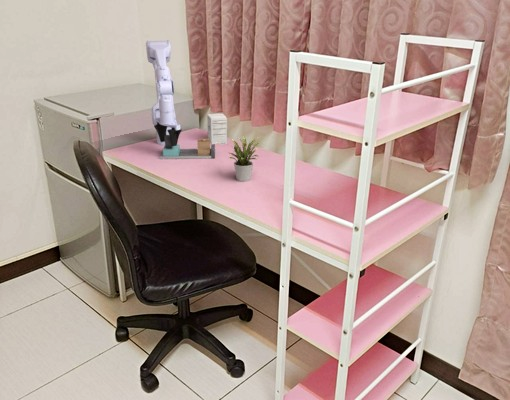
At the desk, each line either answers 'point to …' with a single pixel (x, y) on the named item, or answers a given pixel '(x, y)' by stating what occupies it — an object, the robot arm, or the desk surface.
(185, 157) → the tray
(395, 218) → the desk surface
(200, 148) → the wooden block with knob
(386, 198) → the desk surface
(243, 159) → the house plant
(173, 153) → the ram
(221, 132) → the supplement box
